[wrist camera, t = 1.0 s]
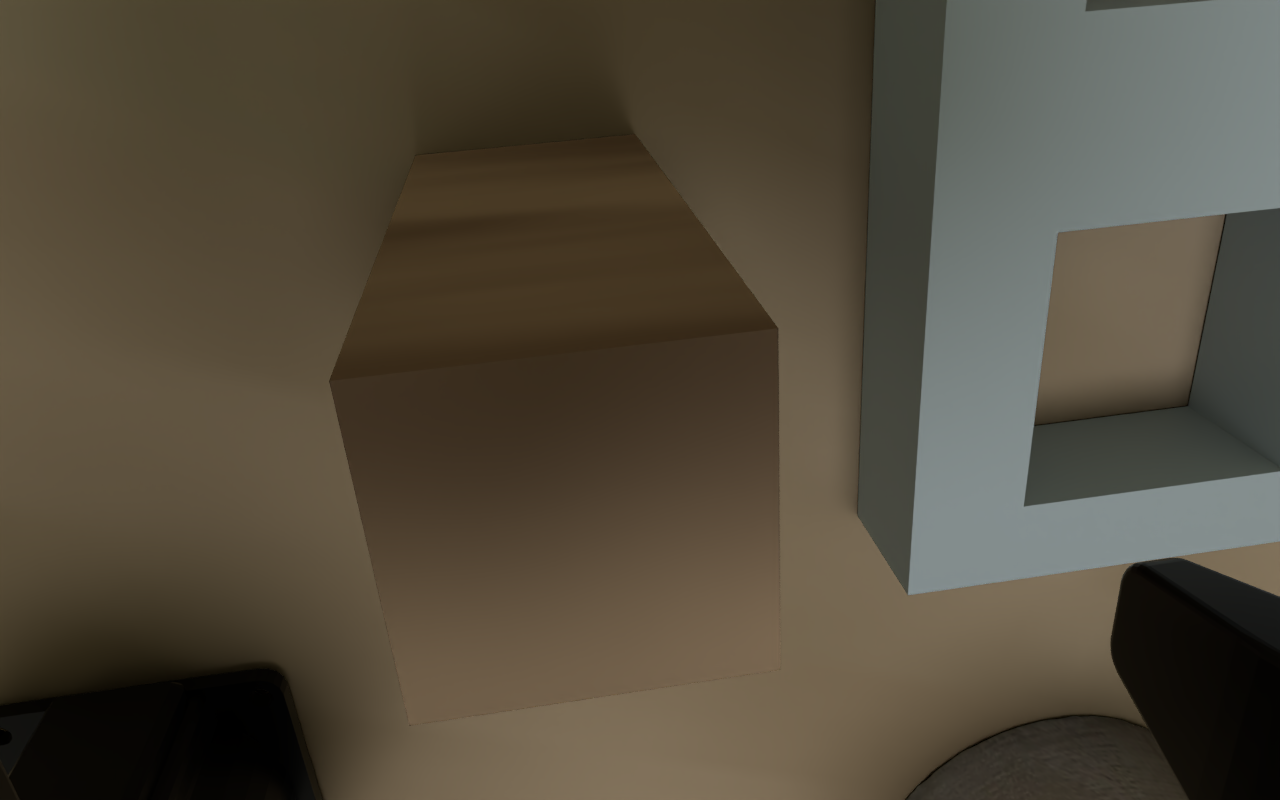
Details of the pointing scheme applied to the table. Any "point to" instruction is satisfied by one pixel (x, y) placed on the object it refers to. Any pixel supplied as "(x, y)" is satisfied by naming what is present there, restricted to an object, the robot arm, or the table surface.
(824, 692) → the table surface
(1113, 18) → the socket block
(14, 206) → the table surface
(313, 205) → the table surface
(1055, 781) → the pillar candle
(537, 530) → the peg
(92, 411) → the table surface
